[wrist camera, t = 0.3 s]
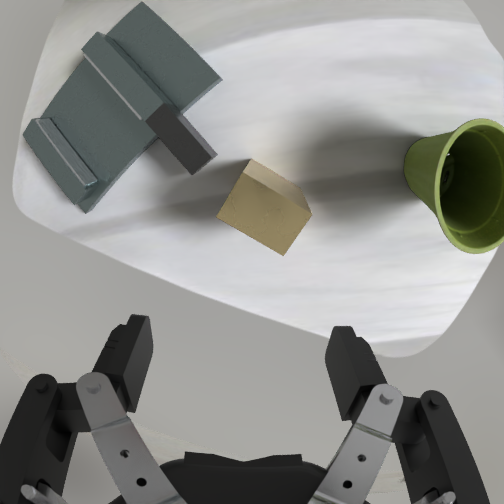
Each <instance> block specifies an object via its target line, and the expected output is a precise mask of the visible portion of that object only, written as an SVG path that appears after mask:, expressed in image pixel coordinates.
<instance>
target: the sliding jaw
mask: <svg viewBox="0 0 504 504" xmlns="http://www.w3.org/2000/svg"><path fill="white" fill-rule="evenodd" d="M81 50H82V51H83V52H84V53H83V55H84V56H85V57H86V59H87V60H88V61H89V62H90V63H91V64H92V65H93V67H94V68H95V69H96V70H97V71H98V72H99V73H100V75H101V76H102V77H103V78H104V79H105V80H106V81H107V83H108V84H109V85H110V86H111V87H112V88H113V89H114V91H115V92H116V93H117V94H118V95H119V96H120V97H121V99H122V100H123V101H124V102H125V103H126V104H127V105H128V107H129V108H130V109H131V110H132V111H133V112H134V113H135V115H136V116H137V117H138V118H139V119H140V120H144V121H145V122H146V123H147V124H148V126H149V127H150V128H151V129H152V130H153V131H154V132H155V134H156V135H157V136H158V137H159V138H160V139H161V140H162V142H163V143H164V144H165V145H166V146H167V147H168V149H169V150H170V151H171V152H172V153H173V154H174V155H175V157H176V158H177V159H178V160H179V161H180V162H181V163H182V165H183V166H184V167H185V168H186V169H187V170H188V171H189V173H190V174H191V175H193V174H195V173H196V172H198V171H199V170H201V169H202V168H203V167H204V166H205V165H206V164H207V163H209V162H210V161H211V160H212V159H213V158H214V157H216V156H217V155H218V154H217V153H216V152H215V151H214V150H213V149H212V147H211V146H210V145H209V144H208V143H207V142H206V140H205V139H204V138H203V137H202V136H201V135H200V134H199V132H198V131H197V130H196V129H195V128H194V127H193V126H192V125H191V123H190V122H189V121H188V120H187V119H186V118H185V117H184V116H183V114H182V113H181V112H180V111H179V110H178V109H177V108H176V107H175V106H174V104H173V103H172V102H171V101H170V100H169V99H168V98H167V97H166V96H165V95H164V93H163V92H162V91H161V90H160V89H159V88H158V87H157V86H156V85H155V84H154V83H153V81H152V80H151V79H150V78H149V77H148V76H147V75H146V74H145V73H144V72H143V71H142V70H141V69H140V68H139V66H138V65H137V64H136V63H135V62H134V61H133V60H132V59H131V58H130V57H129V56H128V55H127V54H126V53H125V52H124V51H123V50H122V49H121V47H120V46H119V45H118V44H117V43H116V42H115V41H114V40H113V39H112V38H111V37H109V36H106V35H104V34H102V33H100V32H96V33H95V35H94V36H93V37H92V38H91V39H90V40H89V41H88V42H87V43H86V44H85V46H84V47H83V48H82V49H81Z"/></svg>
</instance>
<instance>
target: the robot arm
mask: <svg viewBox="0 0 504 504" xmlns="http://www.w3.org/2000/svg"><path fill="white" fill-rule="evenodd" d="M152 353H153V339H152V332H151V326H150V319H149V316H144V315H135V314H132V315H131V316H130V318H129V320H128V322H127V324H126V325H122V324H120V325H118V326H117V327H116V328H115V329H114V330H112V332H111V334H110V336H109V338H108V341H107V342H106V344H105V346H104V348H103V350H102V352H101V354H100V356H99V358H98V360H97V362H96V364H95V366H94V368H93V370H92V372H91V373H87V374H85V375H83V376H82V377H80V378H79V380H78V381H77V382H76V383H57V381H56V380H55V378H54V377H53V376H51V375H49V374H39V375H36V376H34V377H33V378H32V379H31V380H30V381H29V383H28V384H27V386H26V389H25V391H24V393H23V395H22V396H21V399H20V401H19V403H18V405H17V407H16V409H15V412H14V413H13V416H12V418H11V420H10V423H9V425H8V427H7V429H6V432H5V434H4V437H3V439H2V442H1V444H0V504H68V503H67V502H66V501H65V500H64V499H63V498H62V493H63V488H64V484H65V480H66V475H67V471H68V467H69V463H70V460H71V456H72V452H73V449H74V445H75V442H76V438H77V435H78V432H91V434H92V436H93V438H94V441H95V443H96V445H97V447H98V450H99V452H100V454H101V456H102V458H103V460H104V462H105V464H106V466H107V468H108V470H109V472H110V474H111V476H112V478H113V480H114V482H115V484H116V485H117V487H118V489H119V491H120V493H121V495H120V496H118V497H117V498H116V499H114V500H113V501H112V502H110V503H109V504H370V503H369V502H367V501H366V500H365V499H366V497H367V495H368V493H369V491H370V489H371V487H372V485H373V483H374V481H375V479H376V477H377V475H378V472H379V470H380V468H381V466H382V464H383V461H384V459H385V457H386V454H387V452H388V450H389V447H390V445H391V442H393V443H395V445H396V449H397V452H398V456H399V459H400V463H401V467H402V470H403V474H404V478H405V481H406V485H407V489H408V493H409V497H410V501H411V504H490V502H489V499H488V496H487V493H486V490H485V487H484V484H483V481H482V479H481V476H480V473H479V471H478V468H477V466H476V463H475V461H474V458H473V456H472V453H471V451H470V449H469V446H468V444H467V441H466V439H465V437H464V434H463V432H462V430H461V428H460V425H459V423H458V421H457V419H456V417H455V415H454V413H453V410H452V408H451V406H450V404H449V402H448V400H447V398H446V397H445V396H444V395H443V394H442V393H440V392H438V391H434V390H429V391H426V392H424V393H423V394H422V396H421V397H420V398H414V397H406V396H402V394H401V392H400V391H399V390H398V389H397V388H396V387H394V386H392V385H389V384H388V383H387V381H386V379H385V377H384V375H383V372H382V370H381V368H380V366H379V364H378V362H377V361H376V358H375V356H374V354H373V351H372V349H371V347H370V345H369V344H368V343H367V342H366V341H365V340H364V339H363V338H362V337H356V334H355V332H354V330H353V328H352V327H351V326H335V327H334V328H333V330H332V333H331V337H330V340H329V343H328V346H327V350H326V354H325V363H326V367H327V370H328V374H329V377H330V381H331V384H332V387H333V391H334V394H335V397H336V401H337V404H338V408H339V412H340V415H341V419H342V421H346V420H351V421H352V426H351V428H350V430H349V432H348V434H347V435H346V437H345V439H344V441H343V442H342V444H341V446H340V447H339V449H338V451H337V452H336V454H335V456H334V457H333V459H332V460H331V462H330V464H329V465H328V467H327V468H326V469H324V468H322V467H320V466H318V465H315V464H313V463H309V462H305V461H302V456H301V454H295V455H273V456H269V457H265V458H260V459H255V460H251V461H245V462H243V461H238V460H234V459H230V458H226V457H222V456H219V455H215V454H205V453H194V452H185V456H184V459H177V460H172V461H169V462H166V463H164V464H162V465H160V466H159V465H158V464H157V462H156V461H155V459H154V458H153V456H152V455H151V453H150V451H149V450H148V448H147V447H146V445H145V443H144V442H143V440H142V438H141V437H140V435H139V433H138V431H137V430H136V428H135V426H134V424H133V423H132V421H131V419H130V418H129V417H128V416H127V414H126V413H127V411H128V412H133V413H135V411H136V408H137V404H138V401H139V398H140V394H141V391H142V387H143V384H144V380H145V377H146V374H147V371H148V367H149V364H150V361H151V358H152Z"/></svg>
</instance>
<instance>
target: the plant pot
mask: <svg viewBox="0 0 504 504" xmlns="http://www.w3.org/2000/svg"><path fill="white" fill-rule="evenodd" d="M447 154H450V155H448V156H446V155H447ZM447 171H449V174H448V179H447V181H446V183H444V179H445V176H446V172H447ZM404 174H405V178H406V180H407V183H408V185H409V187H410V189H411V190H412V191H413V192H414V193H415V194H416V195H417V196H418V197H419V198H420V199H421V200H422V201H423V202H424V203H425V204H426V205H427V206H428V207H429V208H430V209H431V210H432V211H433V212H434V213H435V215H436V217H437V218H438V221H439V224H440V226H441V228H442V230H443V232H444V234H445V235H446V237H447V238H448V240H449V241H450V242H451V243H452V244H453V245H454V246H455V247H457V248H458V249H460V250H462V251H464V252H467V253H471V254H480V253H485V252H488V251H490V250H492V249H494V248H496V247H497V246H499V245H500V244H501V243H502V242H503V241H504V127H503V126H502V125H500V124H499V123H497V122H495V121H492V120H489V119H474V120H471V121H468V122H466V123H464V124H463V125H461V126H460V127H458V128H457V129H456V130H454V131H453V132H449V133H445V134H440V135H436V136H431V137H426V138H423V139H420V140H418V141H417V142H415V143H414V144H413V145H412V146H411V147H410V149H409V150H408V152H407V154H406V157H405V161H404Z"/></svg>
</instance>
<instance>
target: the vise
mask: <svg viewBox="0 0 504 504" xmlns="http://www.w3.org/2000/svg"><path fill="white" fill-rule="evenodd" d="M106 36H109V37H111V38H112V39H113V40H114V41H115V42H116V43H117V44H118V45H119V46H120V47H121V49H122V50H123V51H124V52H125V53H126V54H127V55H128V56H129V57H130V58H131V59H132V60H133V61H134V62H135V63H136V64H137V65H138V66H139V68H140V69H141V70H142V71H143V72H144V73H145V74H146V75H147V76H148V77H149V78H150V79H151V80H152V81H153V83H154V84H155V85H156V86H157V87H158V88H159V89H160V90H161V91H162V92H163V93H164V95H165V96H166V97H167V98H168V99H169V100H170V101H171V102H172V103H173V104H174V106H175V107H176V108H177V109H178V110H179V111H180V112H181V113H182V114H183V113H184V112H185V111H187V110H188V109H189V108H190V107H191V106H192V105H193V104H194V103H196V102H197V101H198V100H199V99H200V98H201V97H203V96H204V95H205V94H206V93H207V92H208V91H210V90H211V89H212V88H213V87H214V86H216V85H217V84H218V83H219V82H221V81H222V79H221V77H220V76H219V75H218V74H217V73H216V72H215V71H214V70H213V69H212V68H211V67H210V66H209V65H208V64H207V63H206V62H205V61H204V60H203V59H202V58H201V57H200V56H199V55H198V54H197V53H196V51H195V50H194V49H193V48H192V47H191V46H189V45H188V44H187V43H186V42H185V41H184V40H183V39H182V38H181V37H180V36H179V35H178V34H177V33H176V32H175V31H174V30H173V29H172V28H171V27H170V26H169V25H168V24H167V23H166V22H164V21H163V20H162V19H161V18H160V17H159V16H158V15H157V14H156V13H155V12H154V11H152V10H151V9H150V8H149V7H148V6H147V5H146V4H144V3H143V2H141V3H139V4H138V5H137V6H136V7H135V8H134V9H133V10H132V11H130V12H129V13H128V14H127V15H126V16H125V17H124V18H123V19H122V20H121V21H120V22H119V23H118V24H117V25H116V26H115V27H114V28H113V29H112V30H111V31H110V32H109V33H108V34H107V35H106ZM23 136H24V138H25V139H26V141H27V142H28V144H29V145H30V147H31V148H32V149H33V151H34V152H35V154H36V155H37V157H38V158H39V159H40V161H41V162H42V164H43V165H44V166H45V168H46V169H47V170H48V172H49V173H50V174H51V176H52V177H53V178H54V180H55V181H56V182H57V184H58V185H59V186H60V188H61V189H62V190H63V192H64V193H65V194H66V195H67V197H68V198H69V199H70V200H71V202H72V203H73V204H74V205H76V204H78V205H79V206H80V207H81V209H82V210H83V211H84V212H85V214H86V213H88V212H90V211H91V210H92V209H93V208H94V207H95V206H96V204H97V203H98V202H99V201H100V200H101V198H102V197H103V196H104V195H105V194H106V193H107V191H108V190H109V189H110V188H111V187H112V186H113V184H114V183H115V182H116V181H117V180H118V179H119V178H120V177H121V175H122V174H123V173H124V172H125V171H126V170H127V169H128V168H129V167H130V166H131V165H132V163H133V162H134V161H135V160H136V159H137V158H138V157H139V156H140V155H141V154H142V153H143V152H144V151H145V150H146V149H147V148H148V147H149V146H150V145H151V144H152V143H153V142H154V141H155V140H156V139H157V138H158V136H157V135H156V134H155V132H154V131H153V130H152V129H151V128H150V127H149V126H148V124H147V123H146V122H145V121H144V120H140V119H139V118H138V117H137V116H136V115H135V113H134V112H133V111H132V110H131V109H130V108H129V107H128V105H127V104H126V103H125V102H124V101H123V100H122V99H121V97H120V96H119V95H118V94H117V93H116V92H115V91H114V89H113V88H112V87H111V86H110V85H109V84H108V83H107V81H106V80H105V79H104V78H103V77H102V76H101V75H100V73H99V72H98V71H97V70H96V69H95V68H94V67H93V65H92V64H91V63H90V62H89V61H88V60H87V59H86V58H85V59H84V60H83V61H82V62H81V64H80V65H79V66H78V67H77V68H76V70H75V71H74V72H73V73H72V75H71V76H70V77H69V79H68V80H67V81H66V82H65V84H64V85H63V86H62V88H61V89H60V90H59V92H58V93H57V95H56V96H55V97H54V99H53V100H52V102H51V103H50V104H49V106H48V107H47V109H46V110H45V112H44V113H43V115H42V116H41V118H35V119H32V120H31V121H30V123H29V125H28V126H27V128H26V130H25V131H24V133H23Z"/></svg>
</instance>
